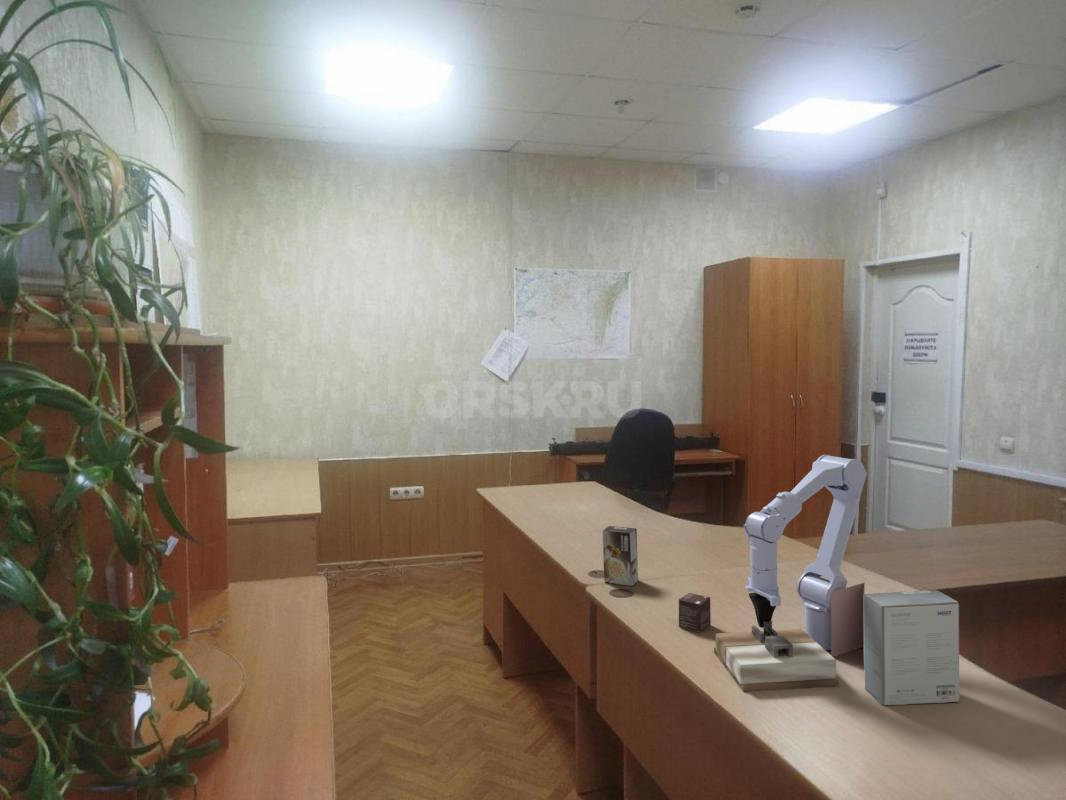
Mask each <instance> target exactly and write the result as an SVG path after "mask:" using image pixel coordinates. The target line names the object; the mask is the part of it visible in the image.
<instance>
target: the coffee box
mask: <svg viewBox="0 0 1066 800" xmlns="http://www.w3.org/2000/svg"><path fill="white" fill-rule="evenodd" d="M637 529H638V528H635V527H625V526H613V525H609V526H607V527H606V528H604V529H603V530H602V552H603V553H602V554H603V582H604V581H605V582H609V583H608V584H613V583H614V584H615V585H622V586H630V587H632V586H634V585H635V584H636V583H637V582H639V573H638V572H639V571H638V570H639V569H638V566H639V565H638V562H639V561H638V540H637V539H638V536H637V535H638V532H637ZM605 582H604V583H605Z"/></svg>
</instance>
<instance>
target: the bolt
mask: <svg viewBox="0 0 1066 800" xmlns="http://www.w3.org/2000/svg"><path fill="white" fill-rule="evenodd" d="M763 627H764V628H763V631H764V633H763V639H764V640H765V637H769V636H773V635H772V628H773V620H768V619H765V620H763ZM778 650H782V649H778Z"/></svg>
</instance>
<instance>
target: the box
mask: <svg viewBox="0 0 1066 800" xmlns="http://www.w3.org/2000/svg"><path fill="white" fill-rule="evenodd" d="M711 615H712V614H711V597H710V596H707V595H701V594H697V593H692V592H688V593H687V594H685V595H684V596H682V597H680V598H679V599H678V627H679V628H680V629H685V630H688V631H689V630H690V631H693V632H697V633H701V632H703V631H705V630H706V629H707V628H708V627H710V626H711V623H712V622H711V621H712V620H711V618H712V617H711Z"/></svg>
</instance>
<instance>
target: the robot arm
mask: <svg viewBox="0 0 1066 800" xmlns="http://www.w3.org/2000/svg"><path fill="white" fill-rule="evenodd" d="M811 465H812V468H811V470H810V471H809V472H808V473H807V474H806V475H805V476H804V477H803V478H802V479H801V480H800V482H799V483H797V485H795V487H793V489H792V490H791V491H783V492H778V493H777V494H776V497H775V498H774V499H772V501H770V502H769V503H768V504H766V506H763V507H762V509H761V510H760V511H754V512H752V513H751V514H749V515H748V517H747V518H746V520H745V524H743V529H744V533H745V534H746V535H747V538H748V539H747V542H748V544H749V563H750V564H749V565H750V567H749V568H750V569H749V571H750V575H749V576H747V585H745V587H744V589H745V590H746V591H747V592H750V593H748V597H749V599H750V600H751V603H752V605H753V608H754V609H753V610H754V612H755V616H756V622H757V624H758V627H759V628H761V629H764V627H763V620H765V619H768V620H771V621H773V615H774V612H775V610H776V608H777V607H781V606H782V597H781V596H780V591H779V586H778V540H780V539H781V537H782V536H783V533H784V530H785V528H786V526H787V525H788V524H789V523H790V522H791V521H792V520H793V519H794V518H795V517H796V516H797V515H798V514H800V513H801V512H802V510H803V509H802V508H803V503H805V501H807V500H808V499H810V497H812V496H813V495H815V494H816V493H817V492H819V491H820V490H822V489H823V488H824V487H825V488H826V489H827V490H828V491H829V492H830V493H831V495H832V497H833V501H832V504H831V507H830V511H829V515H828V518H827V521H826V525H825V529H824V531H823V535H822V538H821V542H820V545H819V548H818V552H817V556H816V559H815V561H814V562H812V563H810V564H808V565H806V566H805V567H804V571H803V573H802V574H801V576H800V577H799V579H798V581H797V583H796V591H797V592H796V593H797V594H798V596H799V597H800V598H801V602H802V604H804V632H805V633H807V634H808V635H809V636H810V637H811V638H812V639H813V640H814V641H815V642H817V643H818V644H819V645H820V646H821V647H822V648H823V649H824V650H825V651H827V650H828V651H831V592H833V591H837V590H840V589H844V588H847V585H848V580H847V578H846V577H845V576H844V574H843V573H842V571H841V566H842V563H843V561H844V560H843V559H844V556H845V553H846V549H847V545H848V542H849V538H850V534H851V532H852V528H853V526H854V521H855V518H856V514H857V511H858V508H859V504H860V501H861V497H862V493H863V489H864V487H865V482H866V478H867V475H868V473H867V470H866V469H865V466H864V464H863V463H862V461H861V460H860V459H857V458H847V457H846V458H845V457H839V456H833V455H830V454H822V455H820V456H819V457H818V458H817V460H815V461H813V463H812V464H811ZM823 577H825V578H823ZM826 578H827V579H826Z"/></svg>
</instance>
